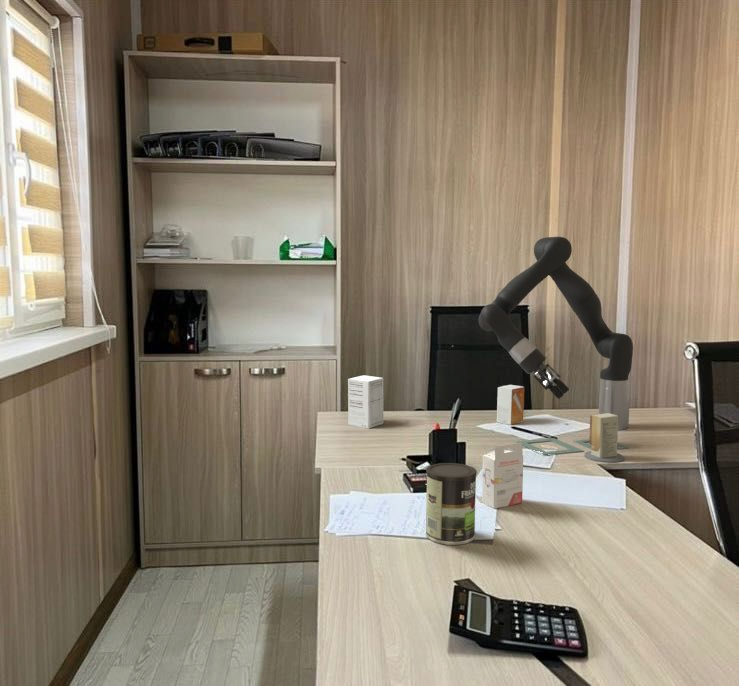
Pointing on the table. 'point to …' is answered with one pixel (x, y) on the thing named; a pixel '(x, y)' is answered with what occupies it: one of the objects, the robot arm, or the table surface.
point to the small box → (510, 404)
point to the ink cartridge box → (503, 476)
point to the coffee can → (450, 503)
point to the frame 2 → (584, 443)
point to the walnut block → (590, 431)
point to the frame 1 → (571, 448)
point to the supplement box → (365, 401)
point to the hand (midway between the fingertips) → (564, 394)
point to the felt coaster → (606, 460)
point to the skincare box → (604, 435)
